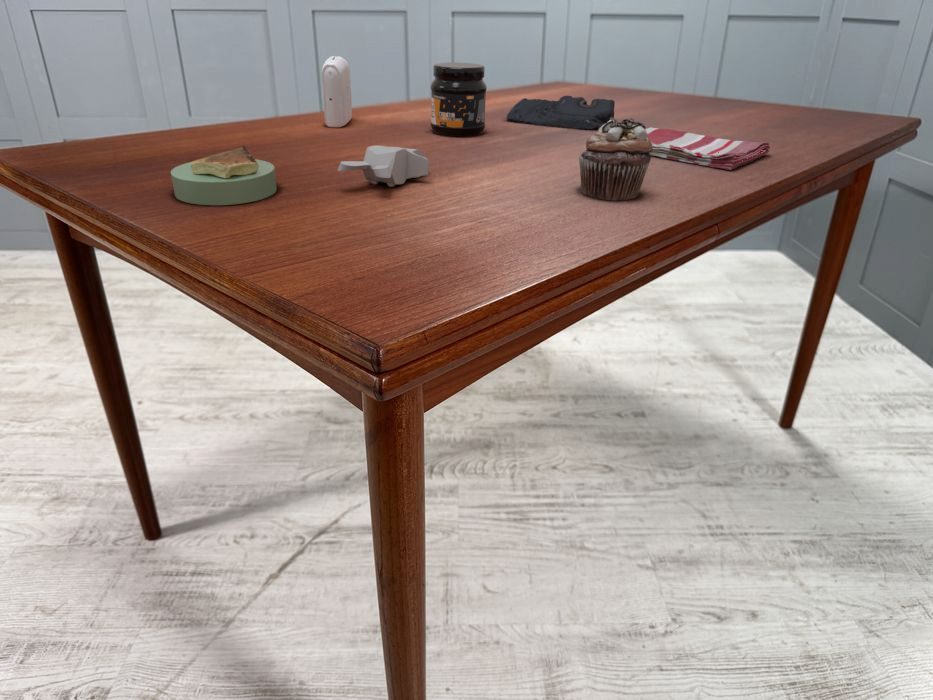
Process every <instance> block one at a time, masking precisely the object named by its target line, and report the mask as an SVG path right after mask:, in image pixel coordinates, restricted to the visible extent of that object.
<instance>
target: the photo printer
mask: <svg viewBox="0 0 933 700" xmlns="http://www.w3.org/2000/svg"><path fill="white" fill-rule="evenodd" d="M321 84H322V85H321V86H322V101H323V110H324V111H323V114H324V123H325V124H324V125H325V126H327V127H328V128H342V127H344V126H346V125H347V124H348V123H349V122H351V120H352V118H353V102H352V85H351V69H350V65H349V63H348V61H347V60H346V59H345V58H344V57H342V56H341V55H337V56H336V55H331V56H330V57H328V58H327V59H326V60H325V61H324V63H323V65H322V67H321Z"/></svg>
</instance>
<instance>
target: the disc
mask: <svg viewBox="0 0 933 700" xmlns="http://www.w3.org/2000/svg"><path fill="white" fill-rule="evenodd" d="M254 159H255V160H256V162H257V163H258V165H259V167H258V170H257V172H256V173H252V174H248V175H232V176H230V177H229V178H222V177H218V176H215V175H213V174H193V172H192V169H191V166H190V165H191V163H192V162H193V161H190V162H189V161H188V162H186V163H185V162H184V163H183V164H179V165H176V166H174V168H172V169H171V170H170V177H171V183H172V188H173V191H174V192H173V193H174V197H175V198H176V199H177V200H179V201H181V202H183V203H186V204H190V205H191V204H192V205H197V206H235V205H242V204H248V203H252V202H258V201H261V200H264V199H267V198H269V197H271V196H273V195H274V194H275V193H276V192H277V190H278V187H277V186H278V185H277V179H276V169H275V166H274V164H272V163H270V162H269V161H265V160H262V159H256V158H254Z"/></svg>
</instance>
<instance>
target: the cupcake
mask: <svg viewBox="0 0 933 700" xmlns="http://www.w3.org/2000/svg"><path fill="white" fill-rule="evenodd" d="M645 128H647V127H646V125H645V124H644V123H642V122H640V121H635V119H634V118H633V117H630V118H625V119H623V120H622V121H621V122H620V121H619V120H616V119H615V118H614V119H613V118H610V120H609V121H608V122H607V123H606V124H604V125H603V126H601V127H600V128H599V129H598V131H597V132H595V134H593V135H591V136H590V137H588V138H587V139H586V141H585V148H586V150H584V151H583V152H582V153H579V154H578V163H579V175H580V187H581V193H582V194H583V195H585V196H588V197H590V198H594V199H599V200H605V201H626V200H627V201H628V200H631V199H635V198H637V197H638V196H639V193H640V190H641V188H642V185H643V182H644V179H645V176H646V173H647V171H648V168H649V166H650V162H651V160H652V155H650V153H649V152H650V151H651V150H652V144H651V142H650V140H649V139H648V138H647V131H646V130H645Z"/></svg>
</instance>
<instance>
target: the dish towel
mask: <svg viewBox="0 0 933 700" xmlns="http://www.w3.org/2000/svg"><path fill="white" fill-rule="evenodd" d="M645 130H646V131H647V138H648V139H649V140H650V142H651V144H652V150H651V151H650V152H649V153H650V155H651V157H658V158H661V159H667V160H672V161H677V162H681V163H682V162H683V163H688V164H691V165H692V164H693V165H698V166H699V165H700V166H705V167H710V168H715V169H722V170H724V171H732V170H734V169H737V168H738V167H741V166H743V165H746V164H749V163H751V162H754V161H755V160H757V159H759V158H762V157H763V156H766V155H767V154H769V152H770V148H771V146H770V143H769V142H768V141H767V142H766V141H761V142H759V141H758V142H756V141H747V140H746V141H745V140H734V139H728V138H727V139H726V138H719V137H715V136H712V135H711V136H710V135H703V134H697V133H692V132H689V131H683V130H676V129H671V128H661V127H659V128H658V127H651V126H650V127H649V126H648V127H646V128H645ZM768 149H769V150H768ZM761 150H766V151H765V152H763V151H761ZM718 152H719V153H718ZM761 152H763V153H761ZM759 153H760V154H759ZM756 154H758V155H756ZM752 156H753V157H752ZM747 158H748V159H747ZM742 160H743V161H742Z"/></svg>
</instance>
